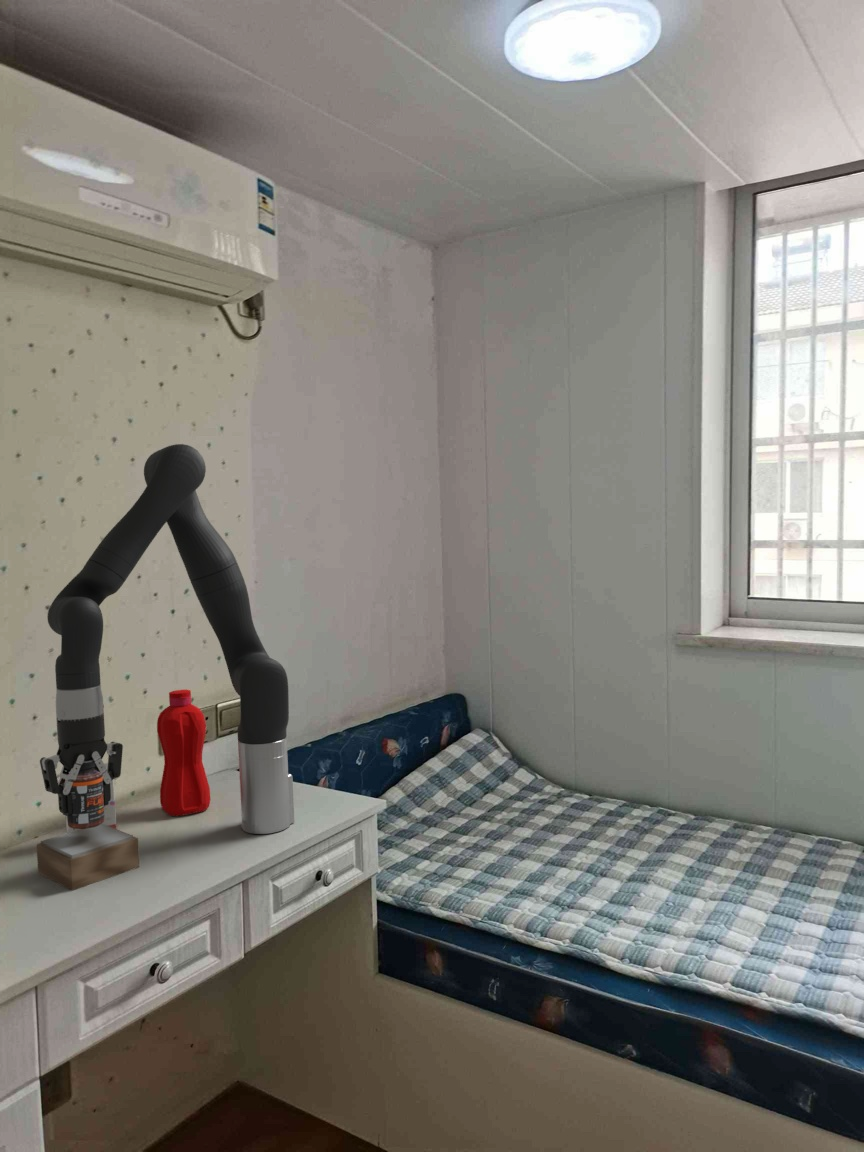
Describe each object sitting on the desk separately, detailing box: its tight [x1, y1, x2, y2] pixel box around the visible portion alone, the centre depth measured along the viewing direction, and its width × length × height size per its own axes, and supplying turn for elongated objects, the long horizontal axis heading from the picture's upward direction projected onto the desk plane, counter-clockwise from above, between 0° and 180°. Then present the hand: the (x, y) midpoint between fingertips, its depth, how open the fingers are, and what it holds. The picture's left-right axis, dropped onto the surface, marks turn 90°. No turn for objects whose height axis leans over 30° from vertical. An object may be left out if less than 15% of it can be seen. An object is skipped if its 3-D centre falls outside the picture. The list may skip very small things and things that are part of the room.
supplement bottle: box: [67, 760, 105, 829], centre depth 151 cm, size 6×6×11 cm
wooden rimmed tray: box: [36, 824, 140, 891], centre depth 151 cm, size 12×12×6 cm
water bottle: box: [156, 689, 211, 817], centre depth 182 cm, size 9×11×25 cm
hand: (85, 809), depth 151 cm, fingers closed on supplement bottle, 6 cm apart
